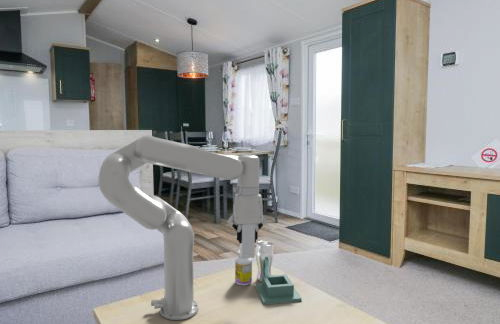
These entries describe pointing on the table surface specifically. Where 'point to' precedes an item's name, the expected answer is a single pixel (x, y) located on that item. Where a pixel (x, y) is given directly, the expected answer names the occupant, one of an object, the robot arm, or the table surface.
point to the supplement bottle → (243, 270)
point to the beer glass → (264, 258)
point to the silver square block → (247, 241)
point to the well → (277, 290)
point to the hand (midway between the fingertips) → (247, 241)
